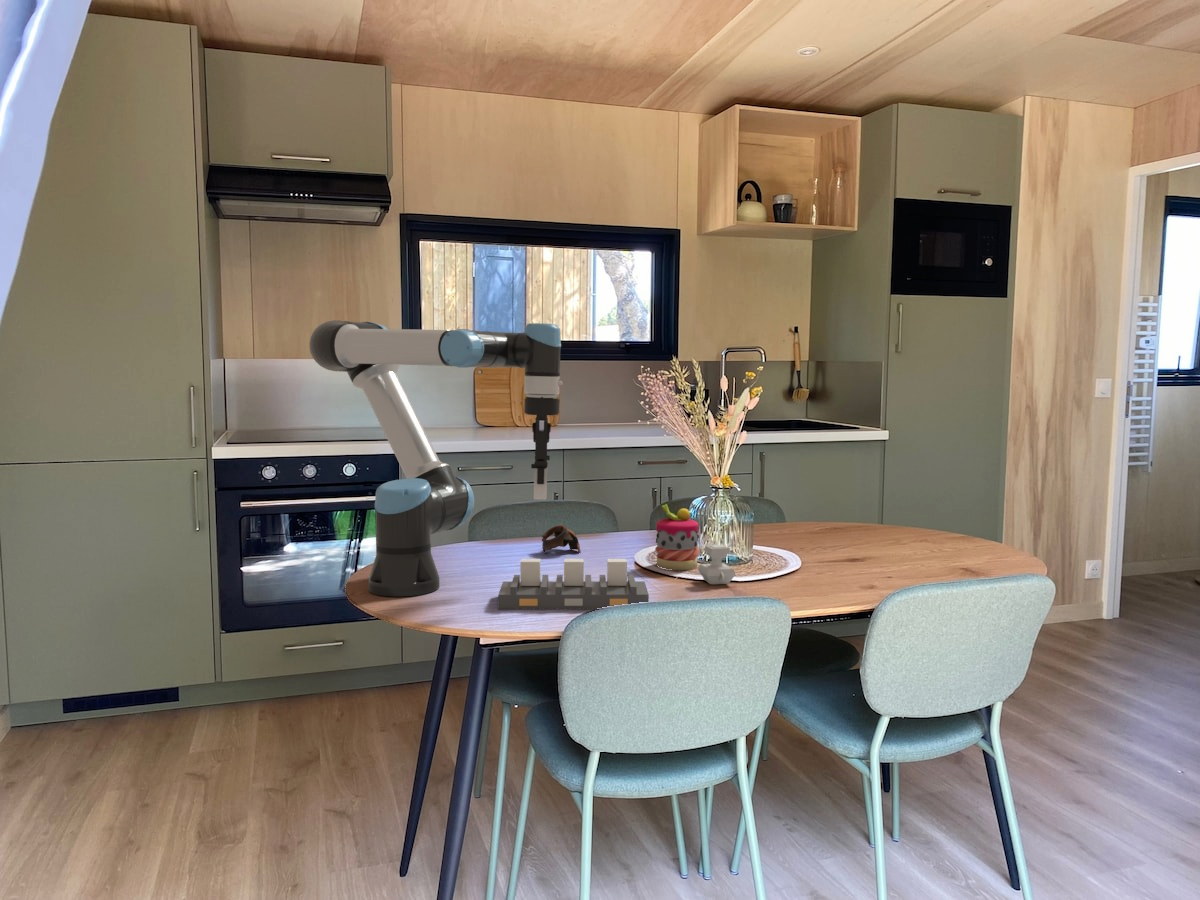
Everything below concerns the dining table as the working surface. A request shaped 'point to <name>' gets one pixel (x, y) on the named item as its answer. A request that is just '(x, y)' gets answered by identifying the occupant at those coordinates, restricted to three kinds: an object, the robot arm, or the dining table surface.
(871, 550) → the dining table surface
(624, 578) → the tab right
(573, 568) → the tab middle
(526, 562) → the tab left
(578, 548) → the brown broken ring
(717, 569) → the grey angular blocky piece
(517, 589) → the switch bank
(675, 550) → the cake
